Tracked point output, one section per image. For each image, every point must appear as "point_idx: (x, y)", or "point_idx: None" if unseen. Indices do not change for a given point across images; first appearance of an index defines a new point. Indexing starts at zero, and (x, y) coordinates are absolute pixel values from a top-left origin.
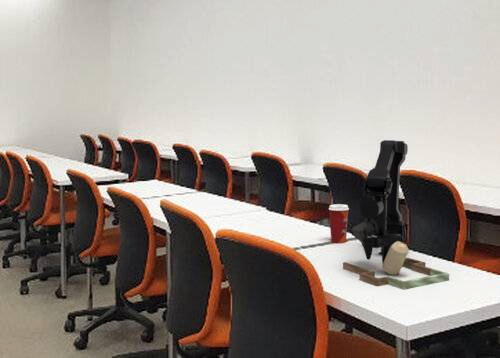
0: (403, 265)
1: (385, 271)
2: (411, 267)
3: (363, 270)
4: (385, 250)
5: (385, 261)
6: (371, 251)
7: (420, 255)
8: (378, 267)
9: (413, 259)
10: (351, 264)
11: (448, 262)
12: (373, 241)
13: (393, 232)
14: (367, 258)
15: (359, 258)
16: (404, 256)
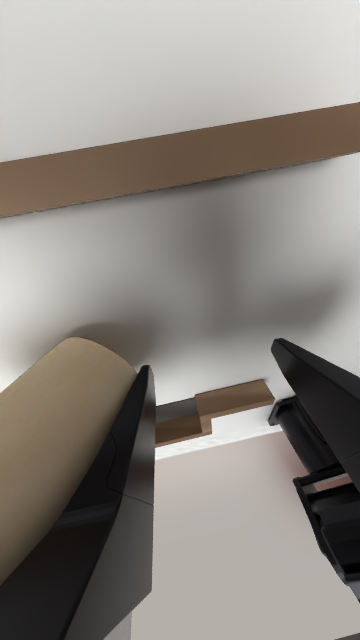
0: (191, 405)
1: (71, 337)
2: (160, 414)
3: (40, 159)
4: (69, 507)
5: (42, 393)
6: (298, 393)
7: (245, 436)
8: (215, 345)
9: (183, 439)
10: (282, 154)
11: (172, 455)
12: (355, 479)
13: (336, 509)
14: (279, 341)
15: (354, 336)
16: None
